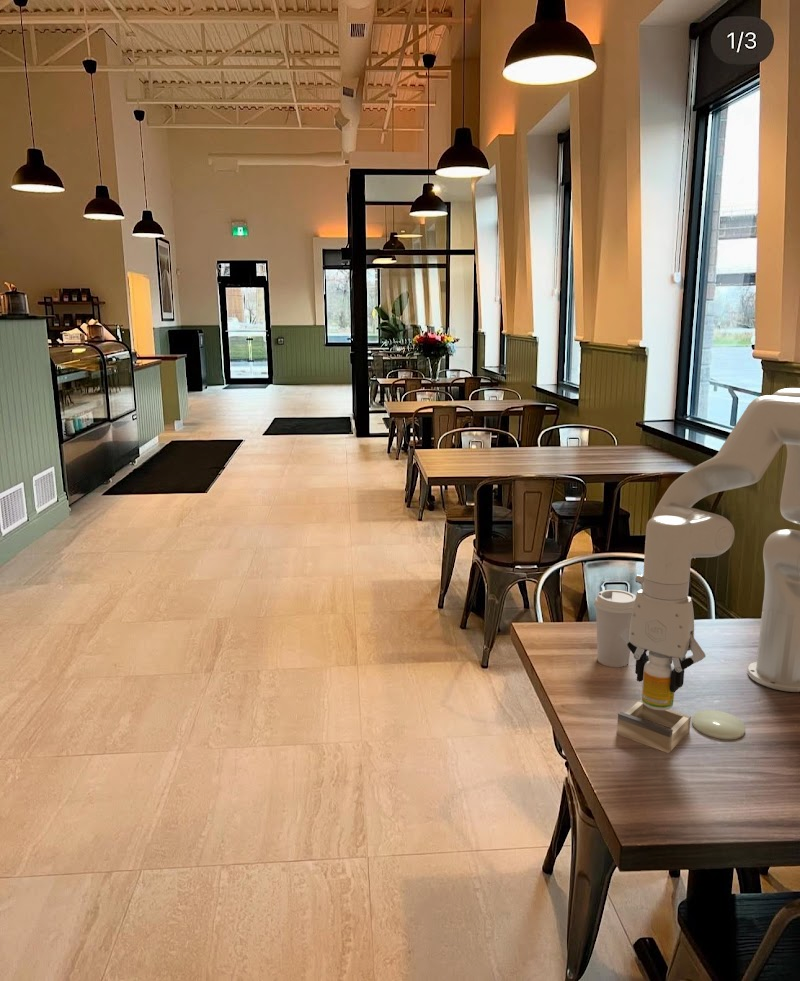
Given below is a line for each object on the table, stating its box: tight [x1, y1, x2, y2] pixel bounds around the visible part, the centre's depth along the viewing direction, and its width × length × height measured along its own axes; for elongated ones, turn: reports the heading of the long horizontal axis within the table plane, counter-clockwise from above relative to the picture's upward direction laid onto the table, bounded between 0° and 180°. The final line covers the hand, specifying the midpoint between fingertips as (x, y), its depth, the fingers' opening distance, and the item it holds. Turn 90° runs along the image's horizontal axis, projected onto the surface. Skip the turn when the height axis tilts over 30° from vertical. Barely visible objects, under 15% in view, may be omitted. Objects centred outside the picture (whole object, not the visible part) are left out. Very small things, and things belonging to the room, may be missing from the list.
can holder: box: [616, 699, 692, 754], centre depth 137 cm, size 10×10×4 cm
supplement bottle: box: [641, 651, 675, 710], centre depth 136 cm, size 5×5×10 cm
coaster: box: [691, 709, 746, 740], centre depth 140 cm, size 9×9×1 cm
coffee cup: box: [593, 589, 636, 668], centre depth 165 cm, size 10×10×15 cm
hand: (658, 683), depth 136 cm, fingers closed on supplement bottle, 5 cm apart
